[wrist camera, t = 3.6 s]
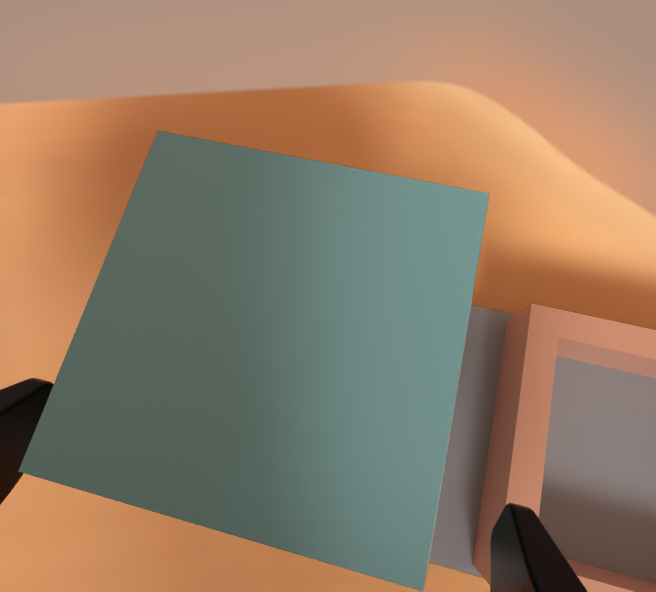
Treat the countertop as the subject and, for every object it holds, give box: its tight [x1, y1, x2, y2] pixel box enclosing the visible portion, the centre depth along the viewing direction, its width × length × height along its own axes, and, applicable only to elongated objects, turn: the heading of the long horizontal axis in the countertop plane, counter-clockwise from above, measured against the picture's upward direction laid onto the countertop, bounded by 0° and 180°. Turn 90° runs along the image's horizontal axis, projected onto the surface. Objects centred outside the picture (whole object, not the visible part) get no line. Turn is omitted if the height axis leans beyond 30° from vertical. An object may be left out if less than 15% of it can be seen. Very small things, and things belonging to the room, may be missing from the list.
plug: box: [19, 131, 489, 591], centre depth 12 cm, size 5×5×12 cm
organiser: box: [427, 291, 656, 592], centre depth 16 cm, size 10×21×4 cm, turn 76°
